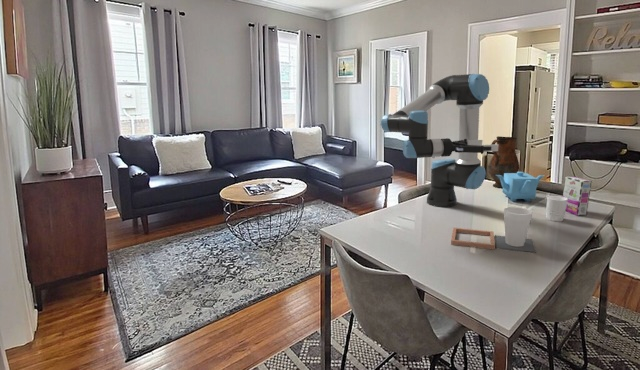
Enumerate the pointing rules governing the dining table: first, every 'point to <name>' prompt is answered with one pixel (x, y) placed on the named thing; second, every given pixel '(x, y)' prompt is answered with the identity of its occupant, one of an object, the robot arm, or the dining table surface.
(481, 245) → the terracotta frame
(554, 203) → the white cup
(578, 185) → the candy bar box
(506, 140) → the pitcher
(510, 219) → the foam cup
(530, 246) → the rubber mat
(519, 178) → the teakettle
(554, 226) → the dining table surface
